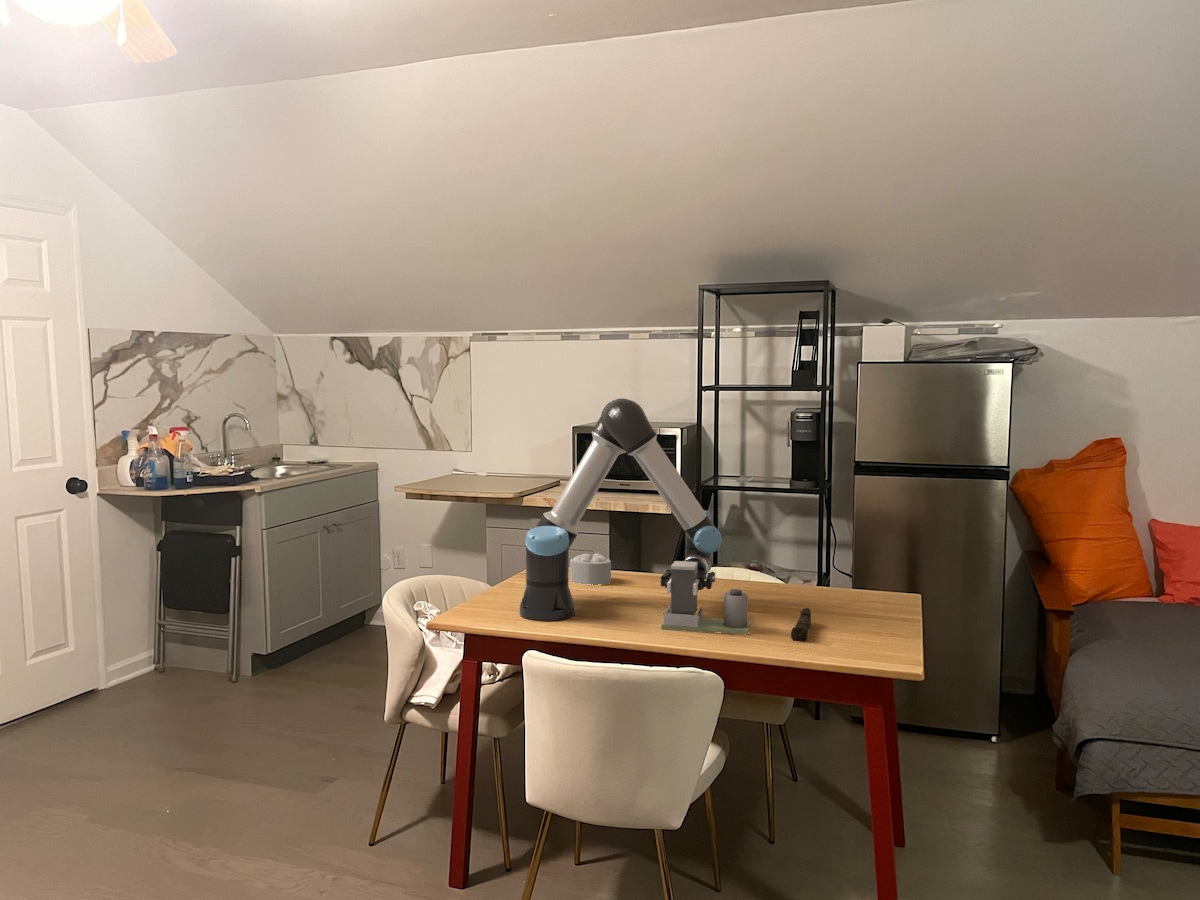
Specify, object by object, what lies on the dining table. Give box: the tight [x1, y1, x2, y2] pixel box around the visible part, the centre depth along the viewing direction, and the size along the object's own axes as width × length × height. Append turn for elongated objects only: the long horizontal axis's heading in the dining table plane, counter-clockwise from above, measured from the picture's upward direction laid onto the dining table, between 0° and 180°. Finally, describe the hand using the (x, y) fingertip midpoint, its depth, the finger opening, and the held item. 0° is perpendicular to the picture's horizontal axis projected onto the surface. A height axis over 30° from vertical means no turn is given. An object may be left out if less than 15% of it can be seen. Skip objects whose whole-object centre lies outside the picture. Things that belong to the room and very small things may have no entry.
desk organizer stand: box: [661, 588, 751, 636], centre depth 225 cm, size 22×9×10 cm, turn 76°
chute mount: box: [663, 604, 704, 627], centre depth 226 cm, size 9×8×3 cm
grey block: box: [670, 560, 698, 615], centre depth 226 cm, size 6×7×13 cm
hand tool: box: [790, 607, 812, 643], centre depth 222 cm, size 19×4×5 cm, turn 158°
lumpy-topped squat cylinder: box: [569, 553, 612, 585], centre depth 278 cm, size 10×13×9 cm
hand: (681, 589), depth 221 cm, fingers closed on grey block, 6 cm apart
